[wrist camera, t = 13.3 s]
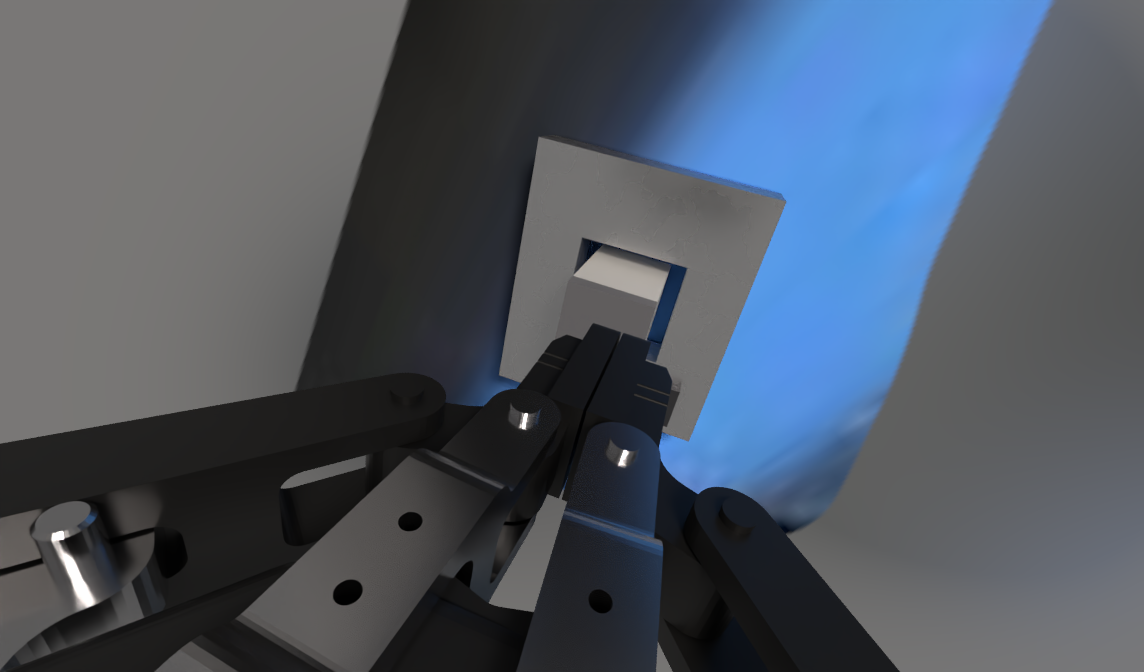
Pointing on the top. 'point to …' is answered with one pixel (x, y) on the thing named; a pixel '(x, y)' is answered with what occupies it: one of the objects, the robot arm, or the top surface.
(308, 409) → the robot arm
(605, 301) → the plug
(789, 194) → the top surface
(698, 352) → the socket
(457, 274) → the top surface
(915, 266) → the top surface
